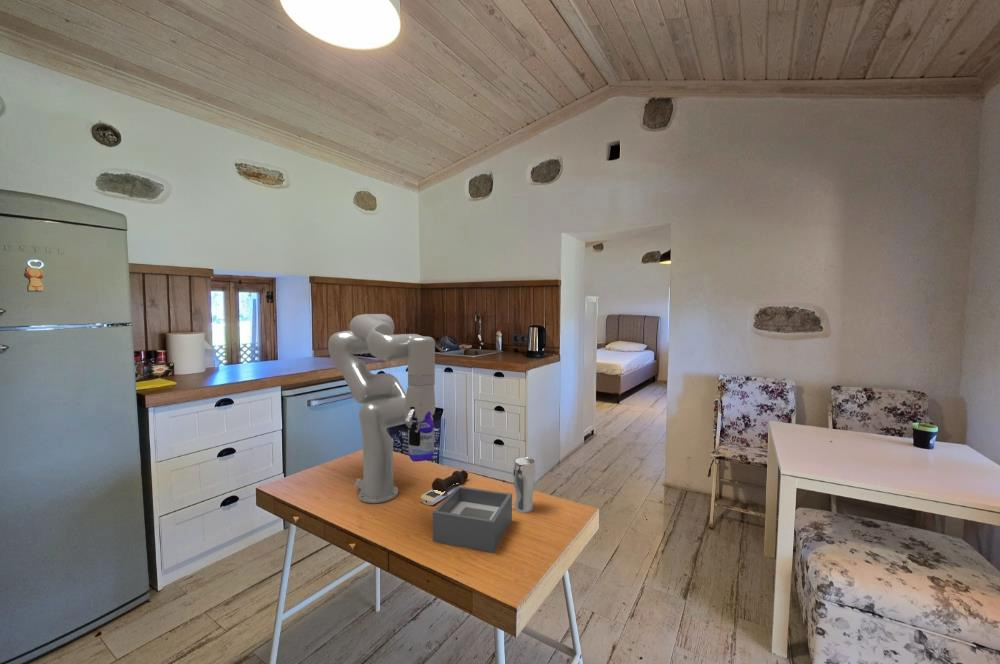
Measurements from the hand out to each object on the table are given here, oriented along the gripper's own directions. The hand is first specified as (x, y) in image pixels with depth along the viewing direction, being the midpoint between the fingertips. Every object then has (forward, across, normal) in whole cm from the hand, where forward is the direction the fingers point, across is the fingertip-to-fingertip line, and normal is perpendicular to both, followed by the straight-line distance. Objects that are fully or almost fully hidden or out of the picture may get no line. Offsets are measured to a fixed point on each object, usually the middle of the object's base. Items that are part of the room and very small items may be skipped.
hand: (421, 440), depth 120 cm
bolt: (+24, -24, -1) cm, 34 cm away
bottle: (+6, 0, 0) cm, 6 cm away
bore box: (+24, 0, +17) cm, 29 cm away
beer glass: (+24, -17, +27) cm, 39 cm away
